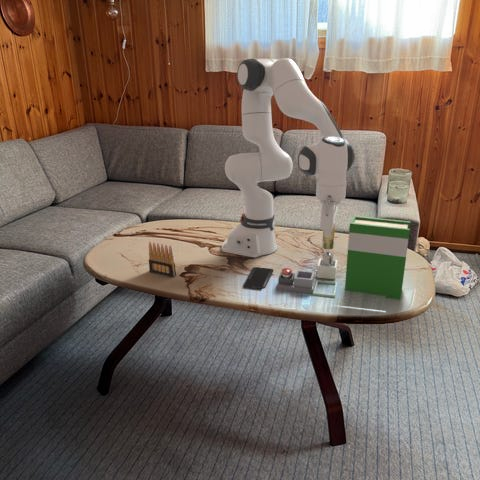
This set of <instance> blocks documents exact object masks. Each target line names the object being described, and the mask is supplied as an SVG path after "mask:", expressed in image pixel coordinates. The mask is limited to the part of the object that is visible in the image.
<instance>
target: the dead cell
mask: <svg viewBox="0 0 480 480" xmlns="http://www.w3.org/2000/svg"><path fill="white" fill-rule="evenodd" d="M322 259H323V263H322V266H331V267H333V260H334V252H331V251H324V252H323V253H322Z"/></svg>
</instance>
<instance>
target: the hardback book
mask: <svg viewBox="0 0 480 480" xmlns="http://www.w3.org/2000/svg"><path fill="white" fill-rule="evenodd" d="M411 224H412V223H411V221H409V220H398V219H389V218H377V217H369V216H360V215H359V216H358V215H352V217H351V219H350V222H349V229H348V230H349V231H348V244H347V254H346V255H347V257H346V269H345V270H346V271H345V283H344V285H345V286H344V290H345V291H352V292H356V293H362V294H363V293H364V294H370V295H371V294H372V295H376V296H383V297H385V298H387V299H393V300H399V301H400V300H402V290H403V285H404V276H405V268H406V261H407V253H408V246H409V238H410V229H411Z"/></svg>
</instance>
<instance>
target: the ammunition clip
mask: <svg viewBox="0 0 480 480" xmlns="http://www.w3.org/2000/svg"><path fill="white" fill-rule="evenodd" d="M152 243H153V244H152ZM156 244H157V245H156ZM148 257H149V259H148V267H149V268H148V269H149V273H153V274H157V275H161V276H166V277H170V278H174V277H176V276H177V274H176V273H177V272H176V263H175V262H174V261H175V260H174V255H173V249H172V246H171V245H169V247H168V245H167V244H165V246H164V244H163V243H161V245H160V244H159V243H155V242H151V241H149V242H148Z"/></svg>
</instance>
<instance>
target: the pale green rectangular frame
mask: <svg viewBox="0 0 480 480" xmlns="http://www.w3.org/2000/svg"><path fill="white" fill-rule="evenodd" d="M319 283H320V284H328V285H334V291H333V294H331V293H326V292H325V293H322V292H317V287H318V284H319ZM337 288H338V282H337V281H331V280H321V279H316V284H315V288H314V291H313V294H312V295H313V296H319V297H327V298H328V297H329V298H336V293H337Z"/></svg>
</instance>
